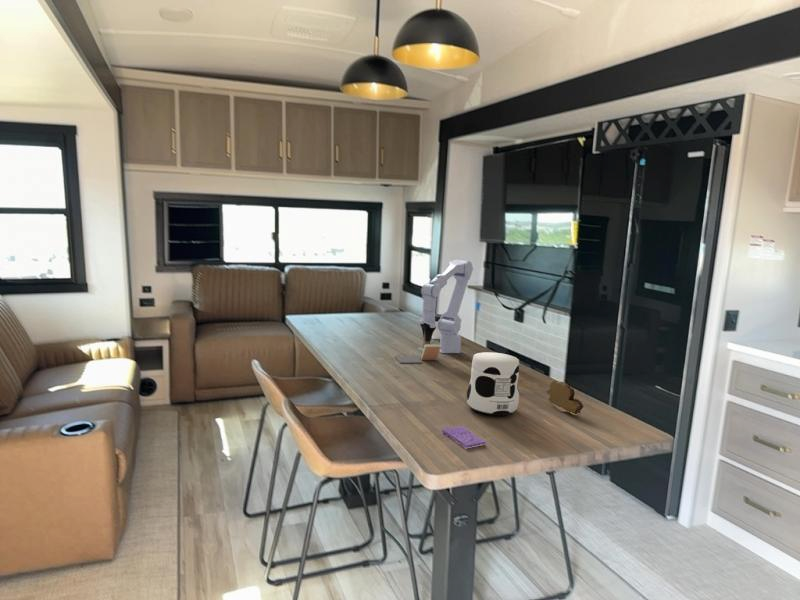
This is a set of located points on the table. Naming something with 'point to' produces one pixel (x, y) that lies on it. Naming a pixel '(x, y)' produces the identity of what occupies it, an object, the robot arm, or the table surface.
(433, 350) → the tile
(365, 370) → the table surface
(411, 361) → the mat
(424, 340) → the turner
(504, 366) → the milk container
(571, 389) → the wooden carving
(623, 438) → the table surface
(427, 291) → the robot arm
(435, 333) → the jar
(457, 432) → the sponges
